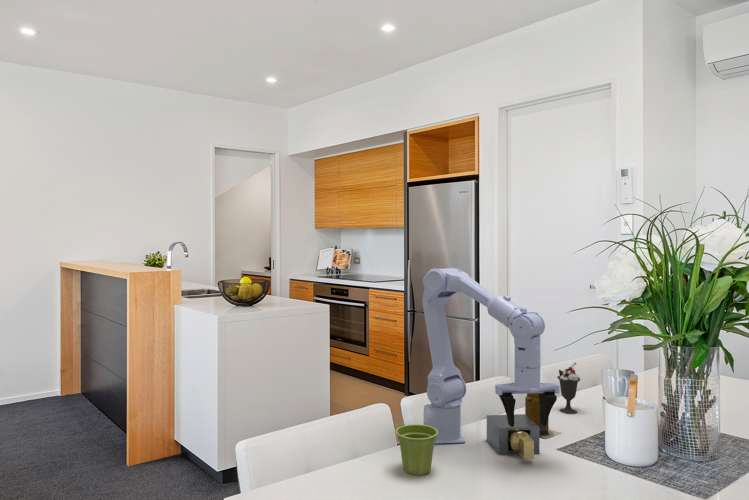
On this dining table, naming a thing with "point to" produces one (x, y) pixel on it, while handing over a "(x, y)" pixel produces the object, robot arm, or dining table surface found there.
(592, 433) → the dining table surface
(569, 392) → the sundae
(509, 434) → the gold stepped cylinder
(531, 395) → the condiment
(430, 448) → the plant pot
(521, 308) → the robot arm
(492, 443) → the housing
